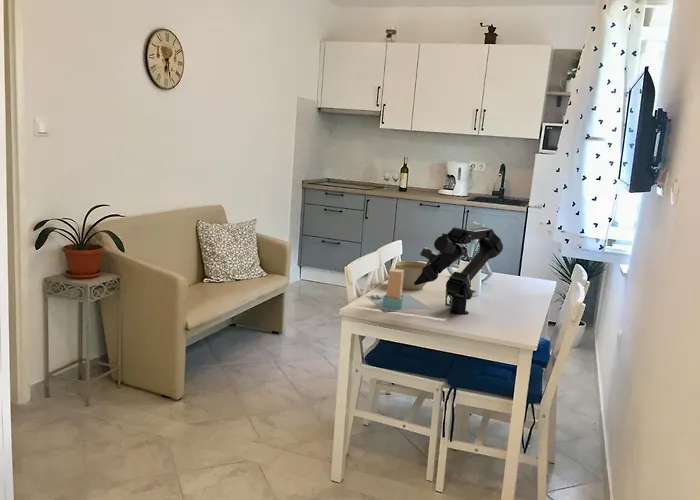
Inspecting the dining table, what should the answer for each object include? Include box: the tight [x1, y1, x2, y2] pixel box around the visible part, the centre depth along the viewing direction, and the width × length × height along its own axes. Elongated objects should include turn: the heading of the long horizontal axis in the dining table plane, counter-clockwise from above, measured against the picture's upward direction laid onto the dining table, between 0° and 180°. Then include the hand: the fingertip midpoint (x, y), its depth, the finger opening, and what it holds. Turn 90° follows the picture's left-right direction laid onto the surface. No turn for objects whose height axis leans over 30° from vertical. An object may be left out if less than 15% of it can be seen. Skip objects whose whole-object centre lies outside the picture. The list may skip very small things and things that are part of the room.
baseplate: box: [365, 292, 432, 313], centre depth 246 cm, size 20×20×4 cm
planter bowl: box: [394, 260, 427, 291], centre depth 272 cm, size 16×16×11 cm
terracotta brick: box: [386, 267, 404, 299], centre depth 239 cm, size 5×5×11 cm
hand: (416, 281), depth 237 cm, fingers open, 9 cm apart
